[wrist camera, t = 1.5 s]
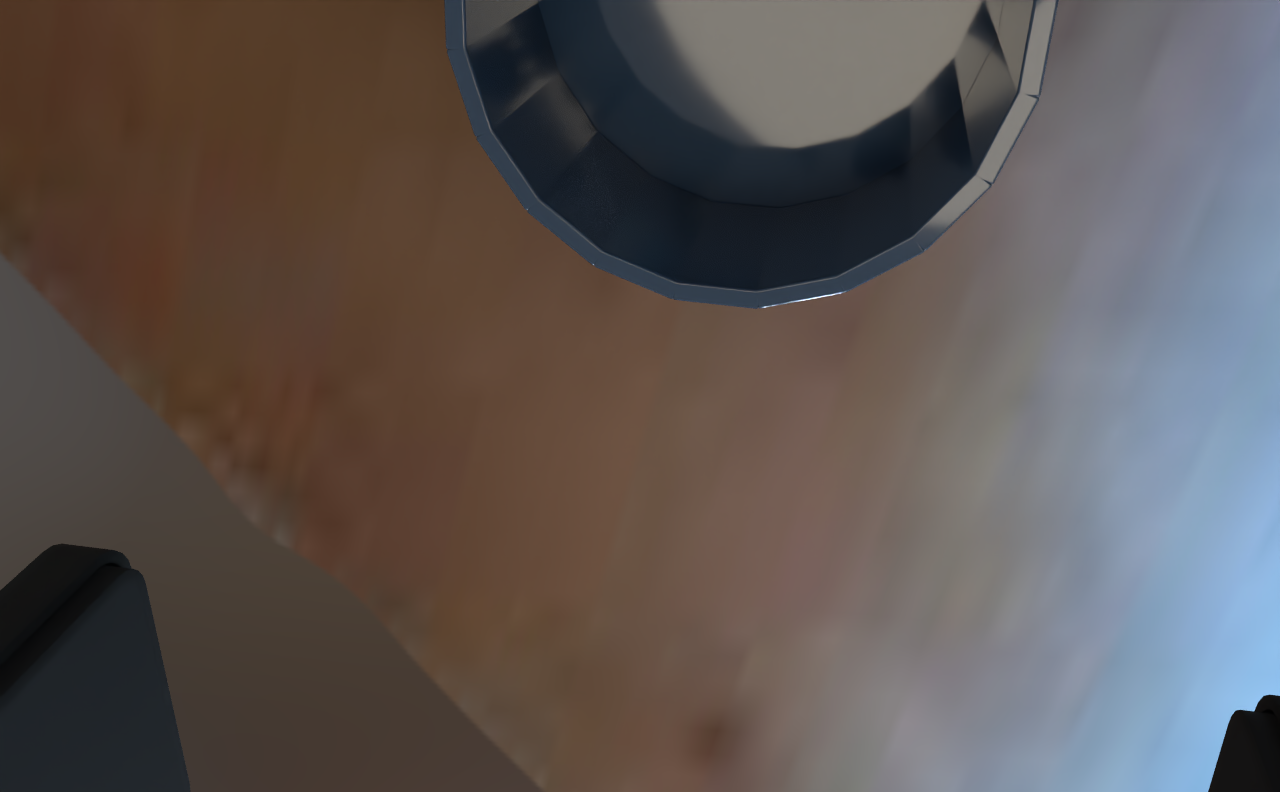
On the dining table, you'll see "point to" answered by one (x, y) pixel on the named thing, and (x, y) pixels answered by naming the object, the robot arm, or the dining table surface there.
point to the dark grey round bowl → (748, 129)
